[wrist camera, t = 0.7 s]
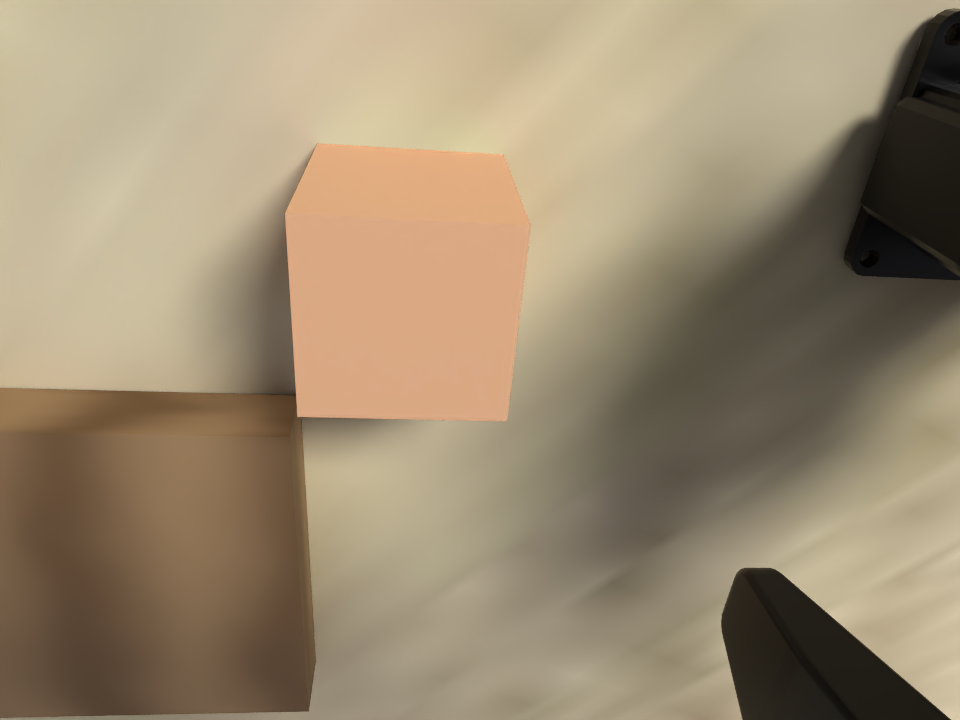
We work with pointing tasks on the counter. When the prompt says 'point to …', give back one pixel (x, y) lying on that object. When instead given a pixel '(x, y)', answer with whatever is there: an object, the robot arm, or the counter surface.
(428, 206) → the terracotta block
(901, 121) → the robot arm
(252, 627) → the walnut base
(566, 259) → the counter surface
